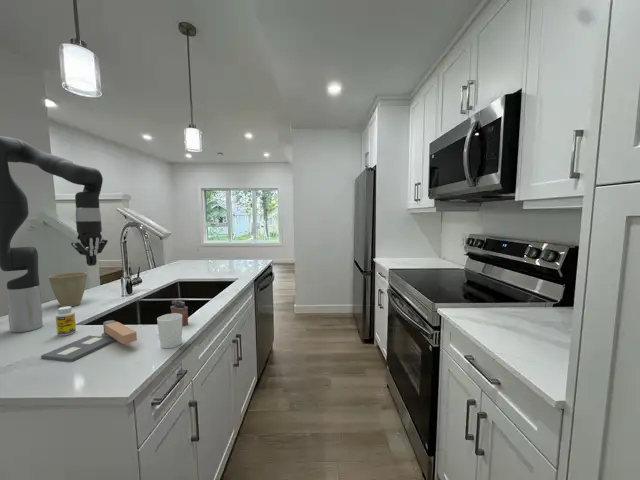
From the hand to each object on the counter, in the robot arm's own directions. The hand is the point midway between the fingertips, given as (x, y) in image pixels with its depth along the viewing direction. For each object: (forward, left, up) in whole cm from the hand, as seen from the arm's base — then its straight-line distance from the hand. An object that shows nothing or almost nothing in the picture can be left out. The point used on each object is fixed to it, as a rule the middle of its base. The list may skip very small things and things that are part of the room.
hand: (91, 265), depth 113 cm
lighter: (+26, +14, -27) cm, 40 cm away
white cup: (+36, -4, -27) cm, 45 cm away
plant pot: (-47, +27, -27) cm, 61 cm away
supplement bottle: (-11, -3, -27) cm, 29 cm away
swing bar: (+16, -5, -25) cm, 30 cm away
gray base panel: (+8, -10, -27) cm, 30 cm away
